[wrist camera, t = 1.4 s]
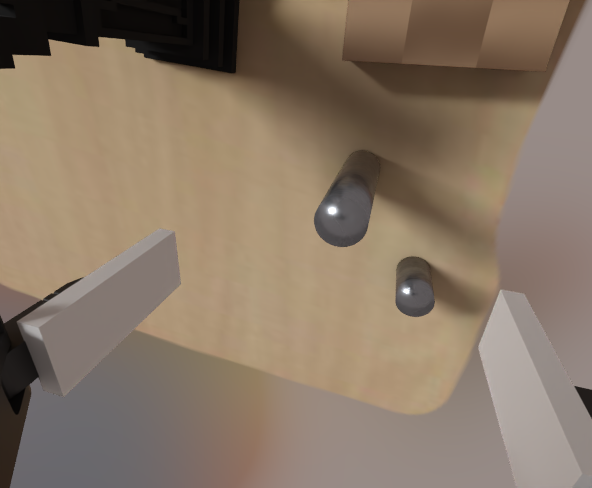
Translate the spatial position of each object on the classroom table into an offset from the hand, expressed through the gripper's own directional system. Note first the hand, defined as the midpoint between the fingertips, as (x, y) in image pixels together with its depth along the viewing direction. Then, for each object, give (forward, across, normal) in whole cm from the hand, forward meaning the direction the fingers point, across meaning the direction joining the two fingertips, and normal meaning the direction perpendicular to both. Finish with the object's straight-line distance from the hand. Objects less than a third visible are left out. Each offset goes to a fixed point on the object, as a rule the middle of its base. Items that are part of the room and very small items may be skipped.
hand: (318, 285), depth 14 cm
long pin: (+18, 0, 0) cm, 18 cm away
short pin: (+18, +6, -9) cm, 21 cm away
